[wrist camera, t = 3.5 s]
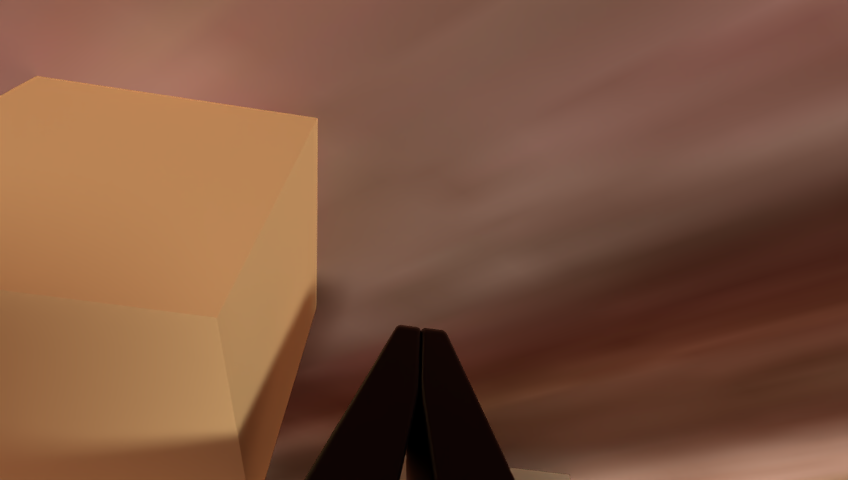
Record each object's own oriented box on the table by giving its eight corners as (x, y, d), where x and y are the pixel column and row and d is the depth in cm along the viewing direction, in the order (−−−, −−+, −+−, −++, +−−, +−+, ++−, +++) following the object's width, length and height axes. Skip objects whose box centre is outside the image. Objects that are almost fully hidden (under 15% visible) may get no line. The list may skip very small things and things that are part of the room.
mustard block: (318, 115, 9) (216, 317, 5) (317, 304, 12) (253, 519, 8) (39, 74, 9) (-288, 251, 5) (110, 277, 12) (-57, 485, 8)
